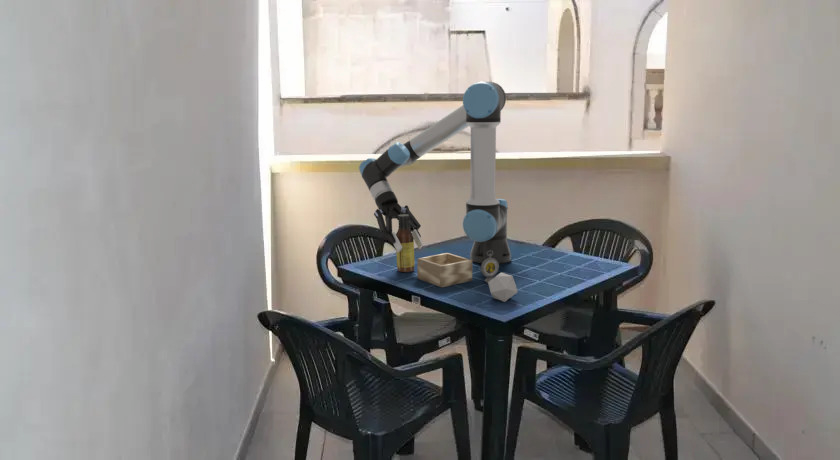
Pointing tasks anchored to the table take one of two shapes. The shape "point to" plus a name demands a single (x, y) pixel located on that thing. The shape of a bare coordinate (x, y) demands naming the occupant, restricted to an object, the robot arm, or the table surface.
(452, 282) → the crate
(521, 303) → the table surface
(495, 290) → the die
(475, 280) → the table surface
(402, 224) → the sauce bottle
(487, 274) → the pocket watch
